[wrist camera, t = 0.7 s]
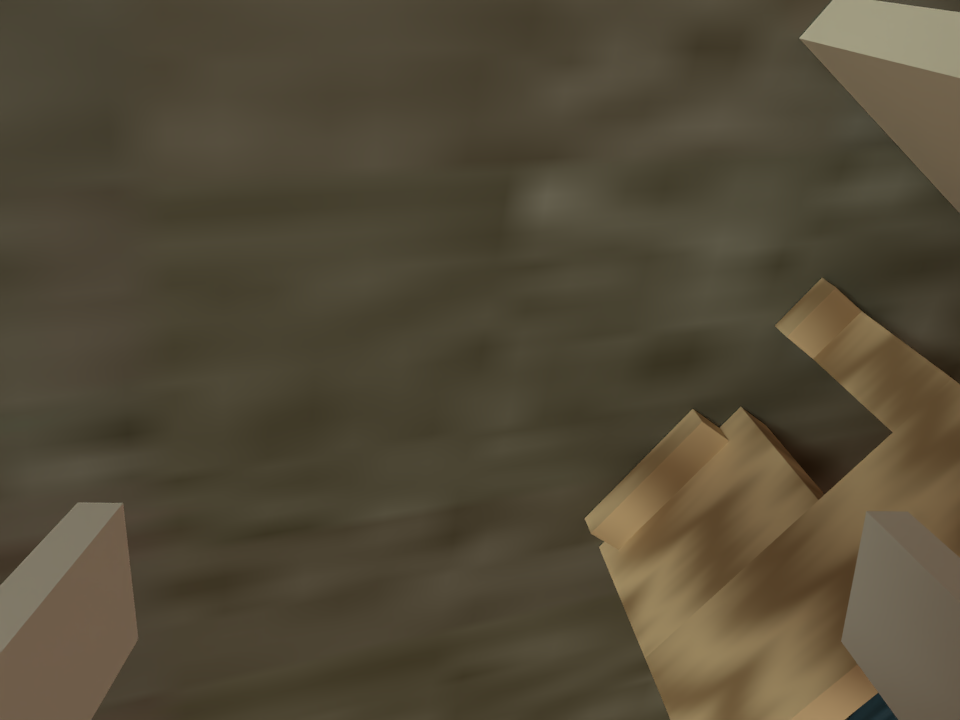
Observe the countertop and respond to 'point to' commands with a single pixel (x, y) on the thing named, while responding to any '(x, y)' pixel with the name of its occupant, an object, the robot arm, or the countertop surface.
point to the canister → (874, 710)
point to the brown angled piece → (776, 532)
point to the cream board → (900, 77)
